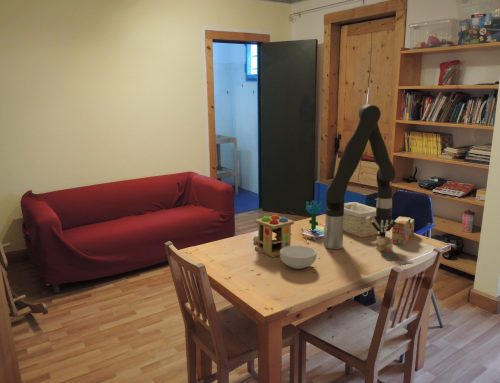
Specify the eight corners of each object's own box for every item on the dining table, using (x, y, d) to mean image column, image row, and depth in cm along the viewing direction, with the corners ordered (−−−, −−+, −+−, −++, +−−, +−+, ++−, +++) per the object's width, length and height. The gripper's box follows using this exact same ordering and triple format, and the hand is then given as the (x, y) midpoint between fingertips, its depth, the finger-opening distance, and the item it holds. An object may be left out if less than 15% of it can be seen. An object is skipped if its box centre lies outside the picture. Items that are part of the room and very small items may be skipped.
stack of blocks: (402, 233, 239) (403, 212, 236) (413, 235, 235) (415, 214, 233) (391, 243, 221) (392, 221, 219) (403, 245, 218) (405, 223, 215)
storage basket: (332, 227, 250) (333, 204, 247) (353, 224, 257) (354, 201, 254) (359, 239, 229) (360, 213, 226) (381, 234, 236) (383, 209, 233)
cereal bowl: (323, 268, 189) (324, 253, 188) (293, 275, 181) (294, 260, 180) (301, 256, 204) (301, 242, 202) (272, 263, 196) (272, 248, 194)
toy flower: (312, 235, 235) (313, 204, 231) (302, 231, 242) (302, 201, 238) (324, 233, 239) (325, 202, 236) (314, 229, 247) (314, 199, 243)
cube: (380, 251, 208) (380, 240, 207) (376, 247, 214) (377, 236, 213) (392, 251, 208) (392, 240, 207) (387, 247, 214) (388, 236, 213)
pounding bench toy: (244, 245, 221) (244, 212, 217) (265, 239, 229) (265, 208, 226) (272, 257, 203) (273, 222, 199) (294, 250, 212) (294, 217, 208)
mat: (387, 260, 197) (387, 260, 197) (375, 248, 214) (375, 248, 214) (401, 260, 197) (401, 260, 197) (389, 248, 214) (389, 247, 214)
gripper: (373, 208, 207) (371, 241, 211) (399, 207, 207) (397, 240, 211) (368, 204, 214) (367, 236, 218) (394, 204, 215) (392, 236, 218)
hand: (382, 238), depth 214 cm, fingers closed
